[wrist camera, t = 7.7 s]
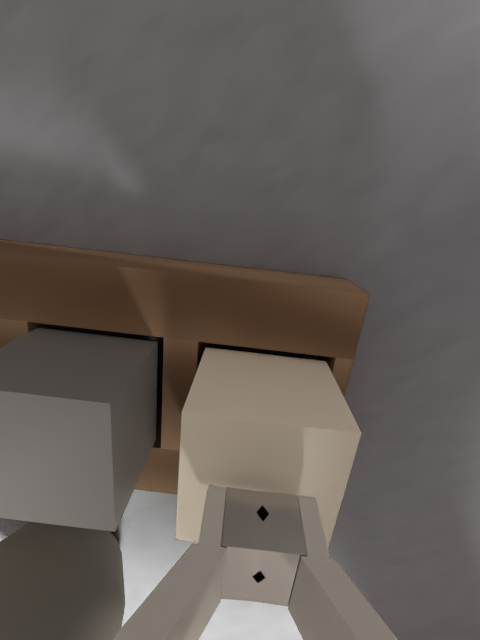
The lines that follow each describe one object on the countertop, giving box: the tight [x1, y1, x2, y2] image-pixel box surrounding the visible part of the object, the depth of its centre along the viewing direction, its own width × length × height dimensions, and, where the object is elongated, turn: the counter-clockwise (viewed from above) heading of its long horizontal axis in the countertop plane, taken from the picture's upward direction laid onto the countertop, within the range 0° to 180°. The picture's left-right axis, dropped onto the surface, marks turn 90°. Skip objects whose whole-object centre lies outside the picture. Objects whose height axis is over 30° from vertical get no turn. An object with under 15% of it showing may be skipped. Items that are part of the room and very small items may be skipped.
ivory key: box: [175, 347, 362, 548], centre depth 11 cm, size 5×5×4 cm
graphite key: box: [0, 328, 158, 532], centre depth 11 cm, size 5×5×4 cm
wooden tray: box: [0, 240, 370, 494], centre depth 15 cm, size 11×21×3 cm, turn 84°
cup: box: [0, 522, 125, 640], centre depth 16 cm, size 10×9×10 cm
